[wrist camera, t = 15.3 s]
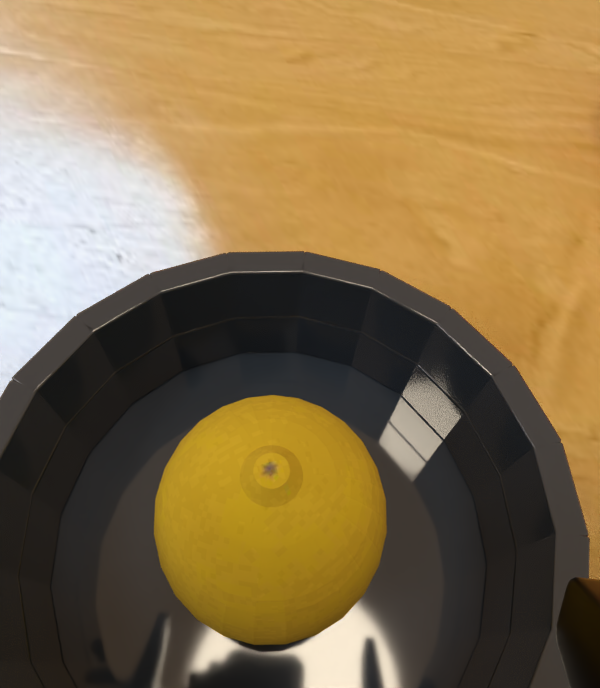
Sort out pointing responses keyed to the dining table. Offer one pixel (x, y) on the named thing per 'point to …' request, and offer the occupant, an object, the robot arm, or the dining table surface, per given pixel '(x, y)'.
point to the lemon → (270, 520)
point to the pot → (317, 388)
